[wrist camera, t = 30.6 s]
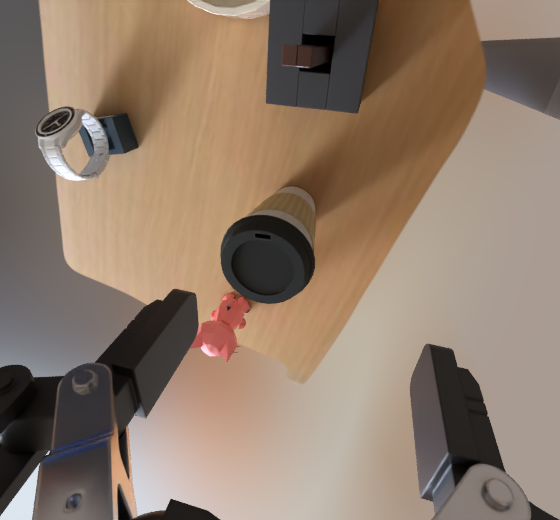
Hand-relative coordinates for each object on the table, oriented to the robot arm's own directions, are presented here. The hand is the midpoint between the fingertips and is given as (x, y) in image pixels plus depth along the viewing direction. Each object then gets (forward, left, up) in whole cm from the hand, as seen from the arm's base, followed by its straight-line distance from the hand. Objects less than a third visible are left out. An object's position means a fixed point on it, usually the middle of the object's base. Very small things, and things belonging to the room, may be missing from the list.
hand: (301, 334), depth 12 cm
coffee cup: (+6, +10, -33) cm, 35 cm away
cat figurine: (+14, +28, -33) cm, 46 cm away
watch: (+31, +3, -33) cm, 46 cm away
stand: (+4, -8, -33) cm, 34 cm away
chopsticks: (+4, -8, -33) cm, 34 cm away
